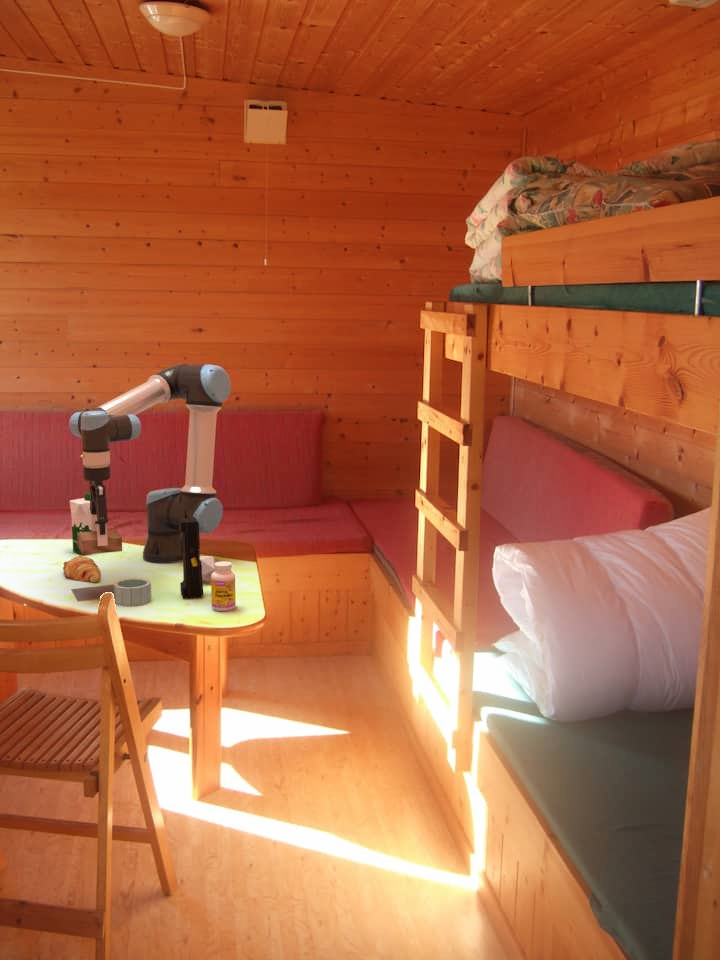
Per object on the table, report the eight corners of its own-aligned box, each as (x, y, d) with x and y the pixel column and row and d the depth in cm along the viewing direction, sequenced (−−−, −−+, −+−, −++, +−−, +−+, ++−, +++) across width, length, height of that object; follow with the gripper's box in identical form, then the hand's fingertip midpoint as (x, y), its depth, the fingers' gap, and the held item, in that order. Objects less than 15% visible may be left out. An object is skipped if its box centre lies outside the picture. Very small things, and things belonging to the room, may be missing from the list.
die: (201, 589, 293) (220, 562, 294) (179, 573, 295) (198, 547, 296) (209, 591, 301) (227, 565, 302) (187, 575, 303) (205, 550, 304)
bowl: (146, 594, 285) (146, 576, 284) (154, 604, 276) (153, 585, 275) (111, 598, 281) (111, 580, 280) (118, 608, 272) (117, 589, 271)
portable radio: (204, 598, 282) (202, 513, 277) (183, 600, 280) (181, 514, 276) (201, 591, 289) (199, 508, 285) (180, 592, 287) (178, 509, 283)
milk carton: (105, 552, 334) (103, 494, 330) (80, 556, 328) (78, 498, 324) (93, 547, 340) (90, 490, 337) (68, 551, 334) (66, 494, 331)
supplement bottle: (211, 612, 269) (210, 567, 267) (211, 605, 276) (210, 560, 274) (236, 611, 270) (235, 566, 268) (235, 604, 277) (234, 560, 275)
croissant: (107, 593, 299) (117, 569, 300) (79, 584, 292) (90, 559, 293) (73, 578, 314) (83, 555, 315) (47, 569, 307) (57, 545, 308)
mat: (115, 585, 295) (115, 584, 295) (123, 597, 283) (123, 596, 283) (71, 590, 289) (71, 589, 289) (77, 602, 278) (77, 601, 278)
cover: (116, 542, 290) (115, 529, 289) (122, 551, 280) (121, 537, 279) (77, 545, 285) (77, 532, 285) (82, 554, 275) (82, 540, 275)
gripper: (77, 460, 287) (81, 533, 291) (88, 473, 266) (91, 551, 270) (104, 459, 290) (106, 531, 294) (116, 471, 269) (119, 549, 273)
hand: (99, 541), depth 282 cm, fingers closed on cover, 11 cm apart
